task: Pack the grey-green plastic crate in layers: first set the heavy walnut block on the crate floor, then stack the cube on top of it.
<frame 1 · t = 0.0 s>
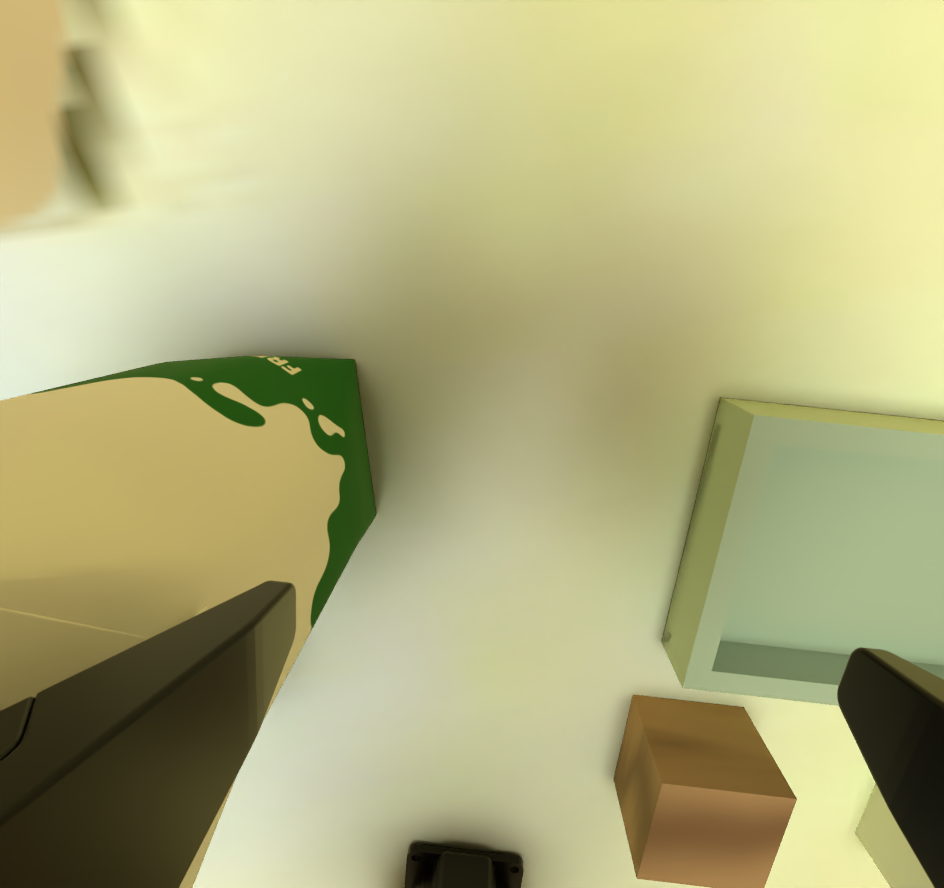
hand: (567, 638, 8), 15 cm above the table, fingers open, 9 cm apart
milk carton: (291, 442, 24), on the table, touching gripper
cube: (917, 801, 28), on the table
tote: (891, 551, 23), on the table
walnut block: (675, 742, 27), on the table
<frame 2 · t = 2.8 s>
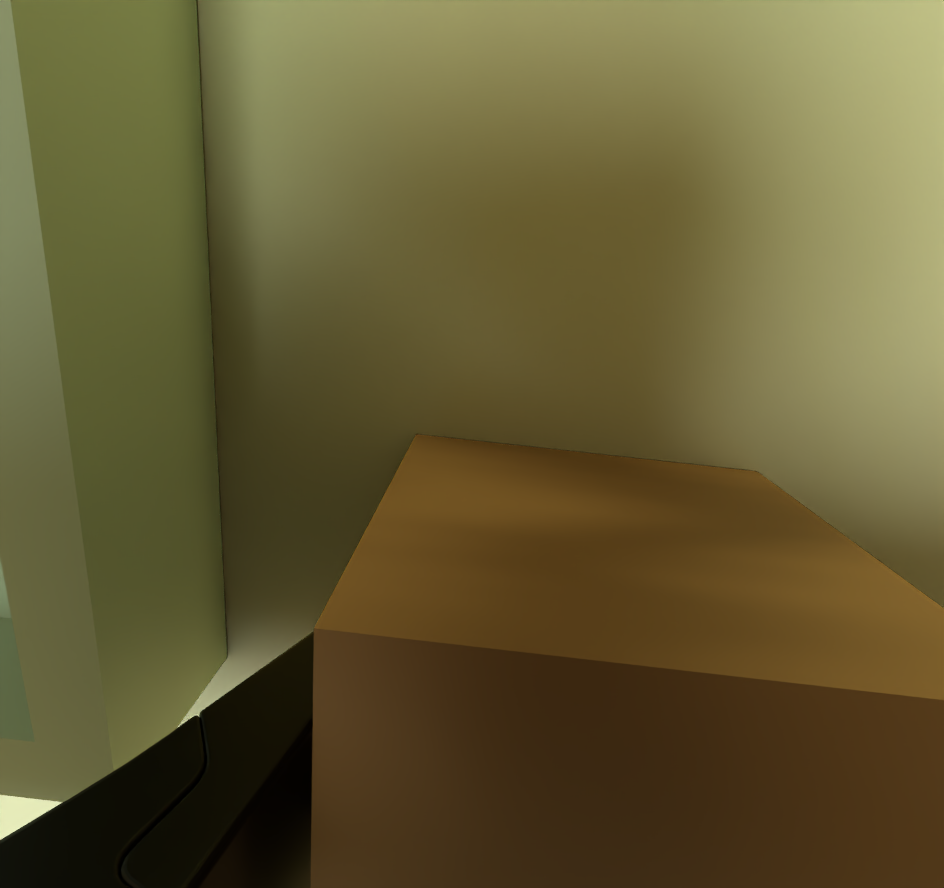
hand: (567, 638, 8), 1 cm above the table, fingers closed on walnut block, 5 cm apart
walnut block: (560, 600, 9), on the table, touching gripper
when the fingers open (3 cm above the table, at t = 6.5 s): walnut block stays where it is, resting on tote.
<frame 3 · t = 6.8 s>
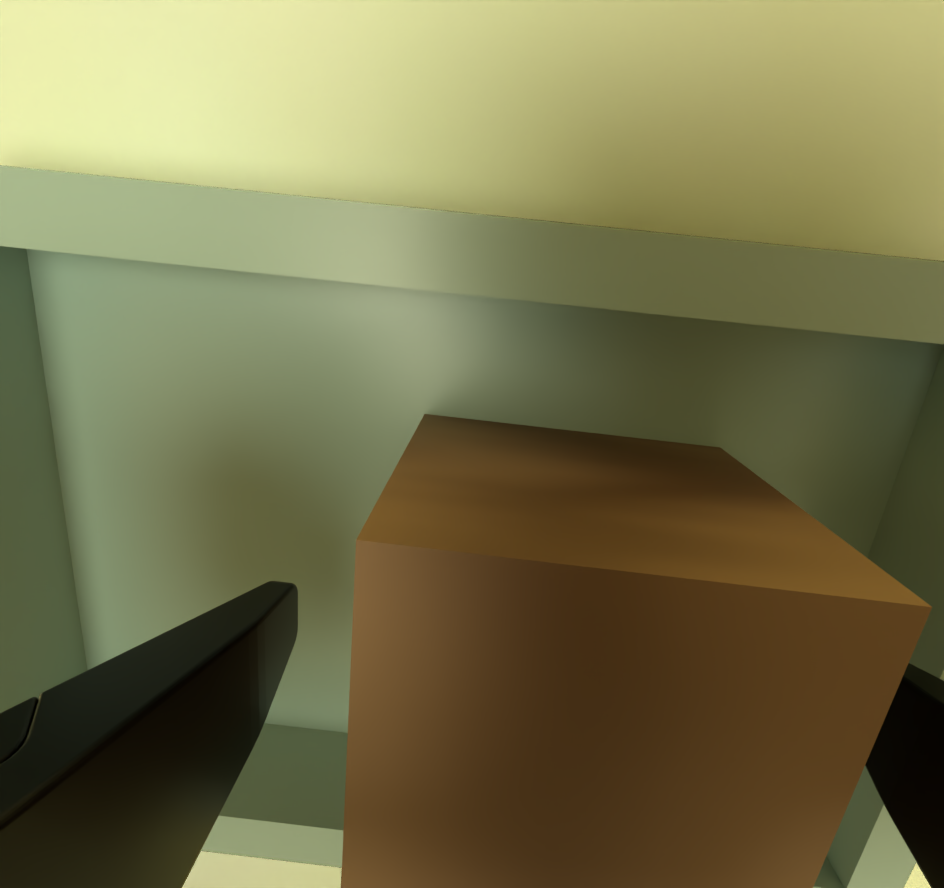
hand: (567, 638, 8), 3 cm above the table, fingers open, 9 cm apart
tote: (457, 531, 11), on the table
walnut block: (549, 561, 11), point 1 cm above the table, touching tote
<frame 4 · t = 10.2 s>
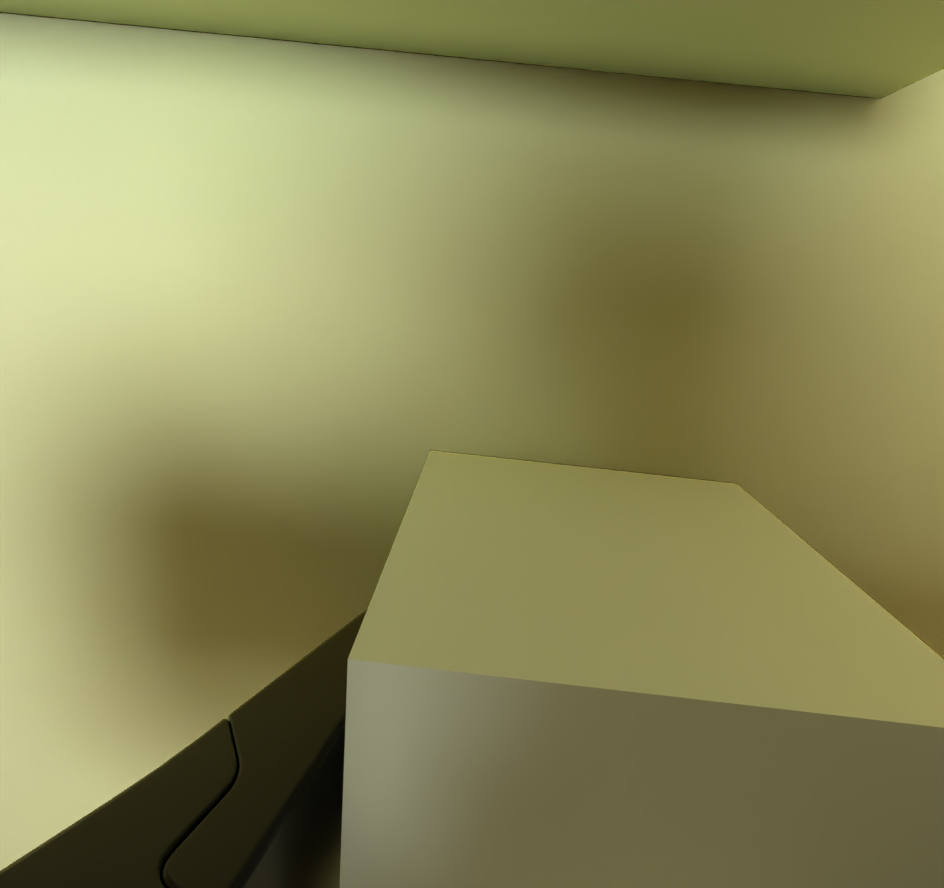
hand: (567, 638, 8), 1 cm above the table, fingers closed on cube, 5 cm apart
cube: (559, 599, 9), on the table, touching gripper
when the fingers open (8 cm above the table, at t = 13.4 s): cube drops 1 cm, resting on walnut block.
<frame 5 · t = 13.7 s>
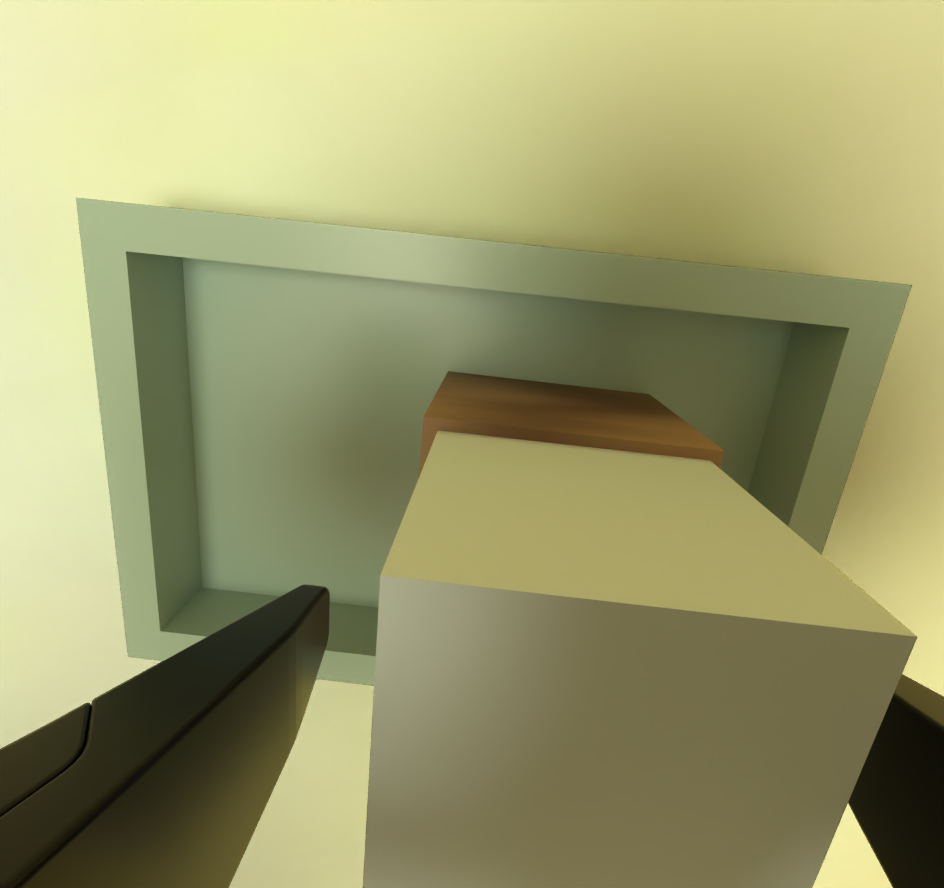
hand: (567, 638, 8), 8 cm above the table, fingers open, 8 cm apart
cube: (553, 565, 10), point 6 cm above the table, touching walnut block
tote: (468, 459, 16), on the table
walnut block: (534, 476, 15), point 1 cm above the table, touching cube, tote
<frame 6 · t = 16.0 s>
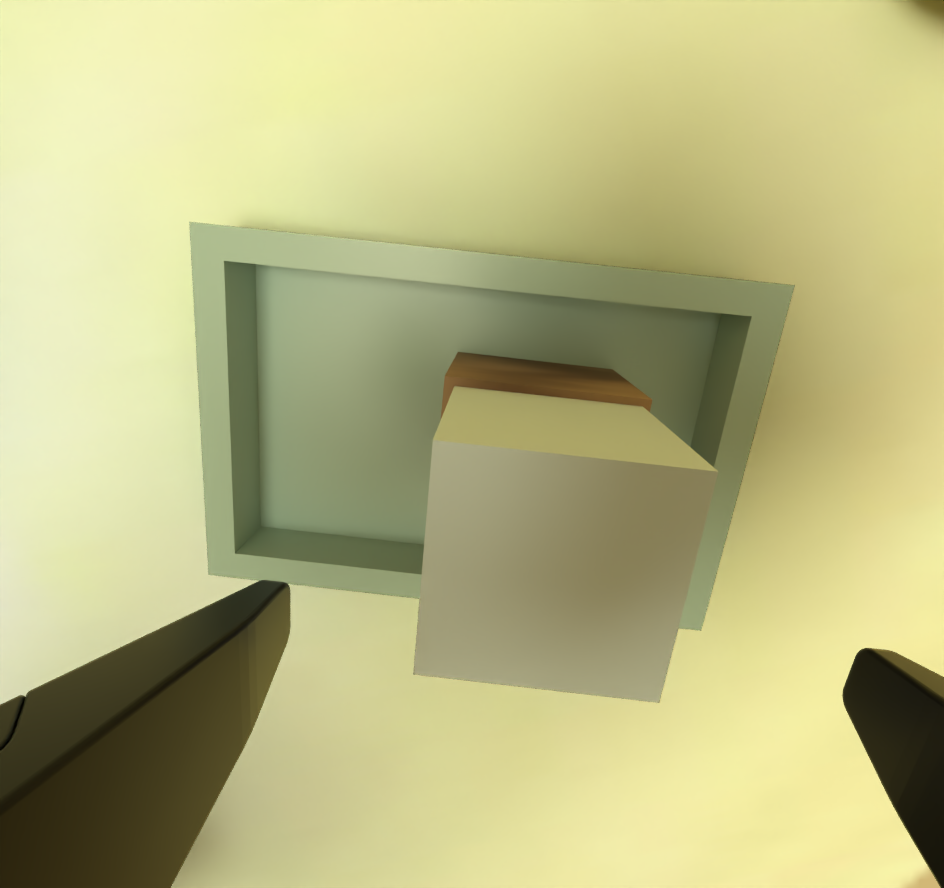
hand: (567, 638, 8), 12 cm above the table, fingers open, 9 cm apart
cube: (535, 483, 15), point 6 cm above the table, touching walnut block
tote: (473, 422, 20), on the table
walnut block: (524, 434, 20), point 1 cm above the table, touching cube, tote
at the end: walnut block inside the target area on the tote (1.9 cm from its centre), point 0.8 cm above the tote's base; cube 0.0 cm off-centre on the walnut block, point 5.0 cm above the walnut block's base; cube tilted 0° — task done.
